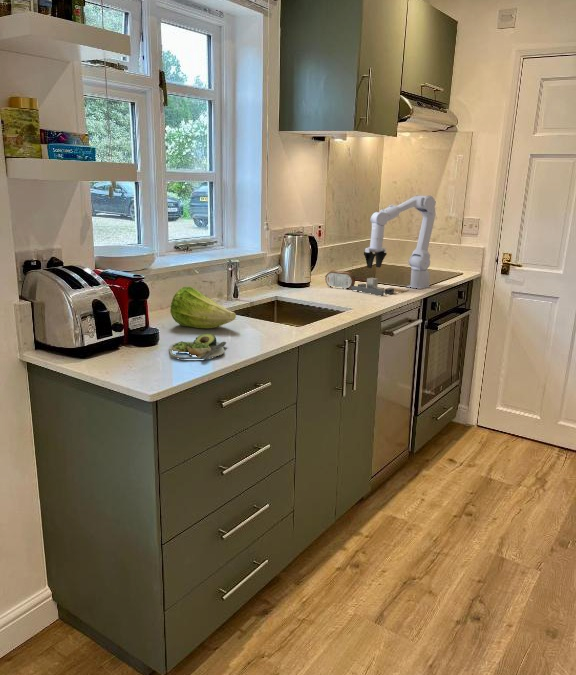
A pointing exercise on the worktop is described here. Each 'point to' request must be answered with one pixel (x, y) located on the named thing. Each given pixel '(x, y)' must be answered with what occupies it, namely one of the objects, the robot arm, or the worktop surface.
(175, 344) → the salad plate
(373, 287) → the grey t-shaped block
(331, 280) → the tin
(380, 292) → the vise jaws
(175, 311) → the lettuce
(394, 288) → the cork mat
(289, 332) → the worktop surface
